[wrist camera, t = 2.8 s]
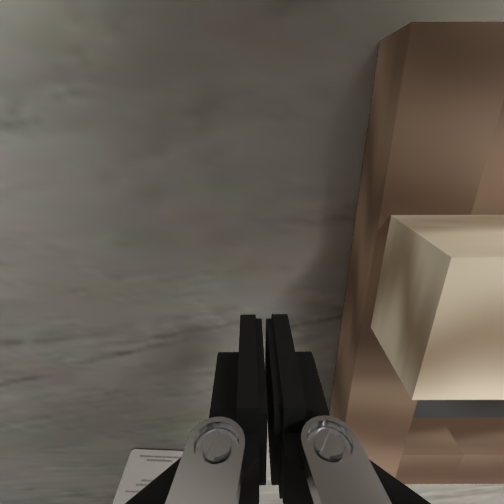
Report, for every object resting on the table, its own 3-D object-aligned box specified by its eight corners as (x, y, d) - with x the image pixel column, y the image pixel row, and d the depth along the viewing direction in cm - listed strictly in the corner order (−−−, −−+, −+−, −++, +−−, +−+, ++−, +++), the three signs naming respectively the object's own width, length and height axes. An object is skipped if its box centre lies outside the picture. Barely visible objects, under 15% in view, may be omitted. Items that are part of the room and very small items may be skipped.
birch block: (390, 215, 14) (451, 257, 10) (527, 214, 14) (647, 256, 10) (370, 327, 16) (411, 399, 12) (487, 327, 16) (568, 399, 12)
